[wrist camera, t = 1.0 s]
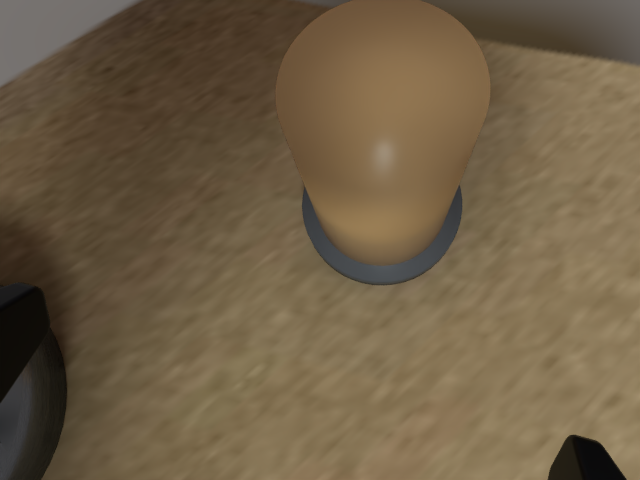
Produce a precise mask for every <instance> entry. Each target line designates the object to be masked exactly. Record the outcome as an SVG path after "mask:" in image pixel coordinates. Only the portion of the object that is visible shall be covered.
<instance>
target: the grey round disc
mask: <svg viewBox="0 0 640 480" xmlns="http://www.w3.org/2000/svg"><path fill="white" fill-rule="evenodd" d="M2 287H5V286H2V285H0V288H2ZM66 391H67V390H66V376H65V369H64V364H63V359H62V355H61V352H60V349H59V346H58V343H57V340H56V338H55V336H54V334H53V332H52V330H51V328H49V331H48V334H47V336H46V337H45V339H44V340H43V342H42V343H41V345H40V346H39V348H38V349H37V351H36V352H35V354H34V355H33V357H32V358H31V360H30V361H29V362H28V364H27V365H26V367H25V368H24V370H23V371H22V373H21V374H20V376H19V377H18V379H17V380H16V382H15V383H14V385H13V386H12V388H11V389H10V391H9V392H8V394H7V395H6V396H5V398H4V399H3V401H2V402H1V403H0V480H41V478H42V476H43V475H44V473H45V471H46V469H47V467H48V465H49V464H50V461H51V459H52V457H53V454H54V452H55V449H56V447H57V444H58V441H59V437H60V434H61V430H62V427H63V421H64V415H65V409H66Z"/></svg>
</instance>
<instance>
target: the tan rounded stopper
mask: <svg viewBox="0 0 640 480" xmlns="http://www.w3.org/2000/svg"><path fill="white" fill-rule="evenodd" d="M275 101H276V110H277V115H278V119H279V122H280V125H281V128H282V130H283V133H284V135H285V138H286V140H287V143H288V145H289V148H290V150H291V153H292V155H293V158H294V160H295V163H296V165H297V168H298V170H299V173H300V175H301V178H302V180H303V183H304V185H305V189H304V193H303V202H302V209H303V218H304V223H305V227H306V230H307V233H308V235H309V237H310V239H311V241H312V243H313V245H314V247H315V249H316V250H317V252H318V253H319V255H320V256H321V257H322V258H323V259H324V261H325V262H326V263H327V264H328V265H329V266H331V267H332V268H333V269H334V270H336V271H337V272H339V273H340V274H342V275H343V276H345V277H348V278H350V279H352V280H355V281H358V282H361V283H365V284H371V285H393V284H398V283H403V282H406V281H409V280H411V279H414V278H416V277H418V276H420V275H422V274H424V273H425V272H426V271H428V270H429V269H431V268H432V267H433V266H434V265H435V264H436V263H437V262H439V260H440V259H441V258H442V257H443V256H444V254H445V253H446V251H447V250H448V248H449V247H450V245H451V243H452V241H453V239H454V237H455V235H456V233H457V230H458V227H459V224H460V220H461V214H462V196H461V189H460V186H459V183H460V181H461V178H462V176H463V173H464V171H465V168H466V166H467V163H468V161H469V158H470V156H471V153H472V151H473V148H474V146H475V143H476V141H477V138H478V136H479V133H480V131H481V128H482V126H483V123H484V121H485V118H486V114H487V111H488V108H489V101H490V76H489V70H488V66H487V63H486V60H485V57H484V55H483V53H482V51H481V49H480V47H479V45H478V43H477V42H476V40H475V39H474V37H473V36H472V34H471V33H470V32H469V31H468V30H467V29H466V28H465V27H464V26H463V25H462V24H461V23H460V22H459V21H458V20H456V19H455V18H454V17H453V16H451V15H450V14H448V13H447V12H445V11H443V10H442V9H440V8H438V7H436V6H434V5H432V4H429V3H426V2H423V1H420V0H352V1H349V2H347V3H344V4H341V5H338V6H336V7H334V8H332V9H330V10H328V11H327V12H325V13H323V14H322V15H320V16H319V17H317V18H316V19H315V20H313V21H312V22H311V23H310V24H309V25H307V26H306V27H305V28H304V29H303V30H302V32H301V33H300V34H299V35H298V36H297V37H296V38H295V40H294V41H293V43H292V44H291V45H290V47H289V49H288V50H287V52H286V54H285V56H284V58H283V60H282V63H281V66H280V68H279V72H278V76H277V80H276V90H275Z"/></svg>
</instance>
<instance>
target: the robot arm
mask: <svg viewBox="0 0 640 480" xmlns="http://www.w3.org/2000/svg"><path fill="white" fill-rule="evenodd" d="M49 328H50V319H49V314H48V310H47V305H46V300H45V296H44V293H43V291H42V290H41V288H39V287H36V286H33V285H29V284H25V283H14V284H11V285H8V286H5V287H2V288H0V403H1V402H2V401H3V399H4V398H5V396H6V395H7V394H8V392H9V391H10V389H11V388H12V386H13V385H14V383H15V382H16V380H17V379H18V377H19V376H20V374H21V373H22V371H23V370H24V368H25V367H26V365H27V364H28V362H29V361H30V360H31V358H32V357H33V355H34V354H35V352H36V351H37V349H38V348H39V346H40V345H41V343H42V342H43V340H44V339H45V337H46V336H47V334H48V331H49ZM548 480H627V479H626V478H625V476H624V475H623V474H622V472H621V471H620V469H619V468H618V467H617V465H616V464H615V462H614V461H613V460H612V458H611V457H610V455H609V454H608V452H607V451H606V450H605V448H604V447H603V446H602V445H601V444H600V443H599V442H598V441H596V440H592V439H589V438H585V437H581V436H578V435H570V436H568V437H567V439H566V440H565V442H564V444H563V445H562V447H561V449H560V451H559V453H558V455H557V457H556V458H555V460H554V462H553V464H552V466H551V468H550V471H549V476H548Z"/></svg>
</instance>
